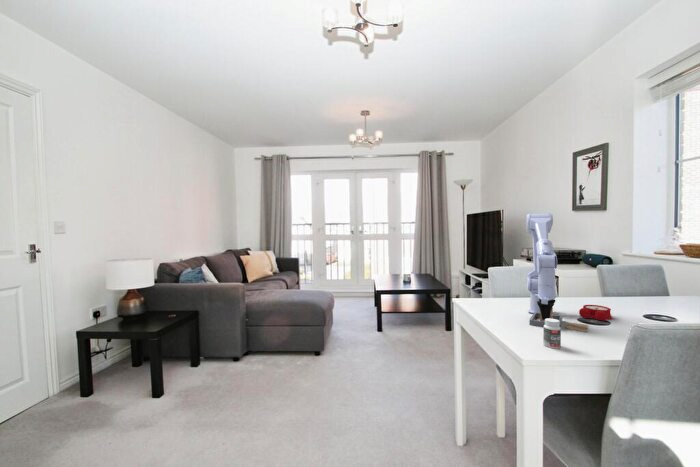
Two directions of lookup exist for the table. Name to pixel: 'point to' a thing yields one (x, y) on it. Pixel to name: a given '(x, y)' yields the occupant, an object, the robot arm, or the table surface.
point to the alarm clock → (595, 312)
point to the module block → (550, 315)
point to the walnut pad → (576, 327)
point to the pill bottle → (552, 333)
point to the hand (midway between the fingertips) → (546, 318)
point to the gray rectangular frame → (542, 323)
